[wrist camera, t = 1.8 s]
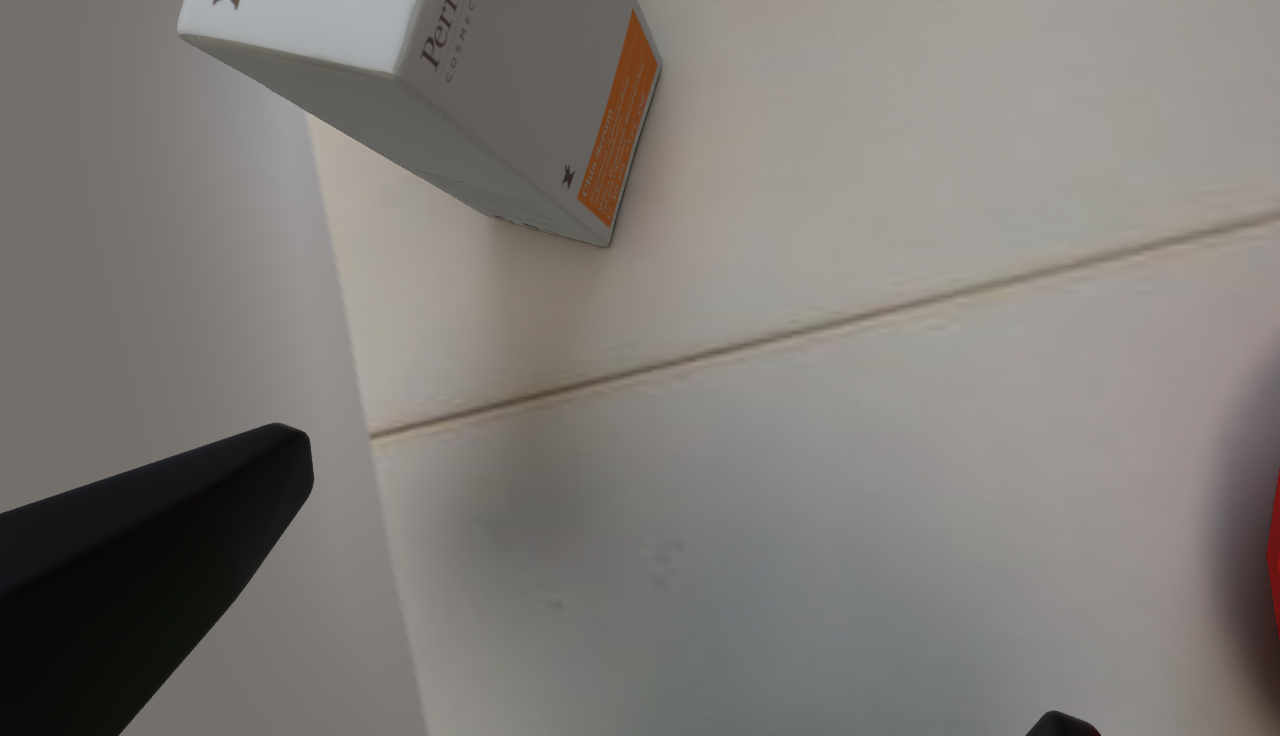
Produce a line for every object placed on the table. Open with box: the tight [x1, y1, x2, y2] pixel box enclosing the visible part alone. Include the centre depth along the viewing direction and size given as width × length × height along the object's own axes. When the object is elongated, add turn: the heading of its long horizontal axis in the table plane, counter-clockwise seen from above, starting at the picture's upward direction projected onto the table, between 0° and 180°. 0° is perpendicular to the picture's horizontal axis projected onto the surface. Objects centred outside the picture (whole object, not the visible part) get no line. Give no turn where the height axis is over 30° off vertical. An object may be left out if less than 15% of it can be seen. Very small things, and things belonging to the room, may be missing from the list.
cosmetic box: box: [176, 0, 662, 247], centre depth 17 cm, size 6×4×12 cm
